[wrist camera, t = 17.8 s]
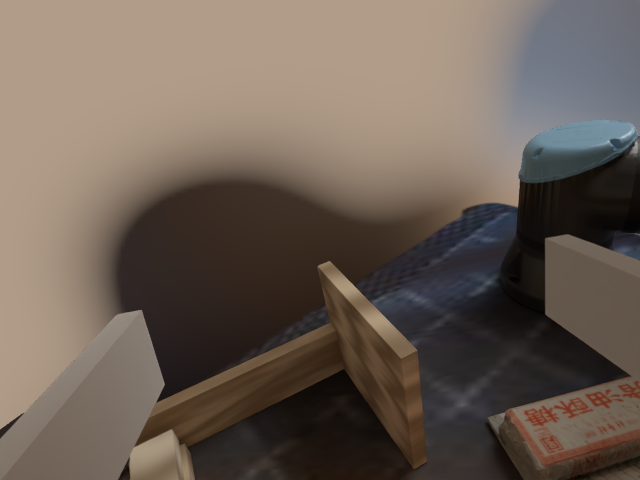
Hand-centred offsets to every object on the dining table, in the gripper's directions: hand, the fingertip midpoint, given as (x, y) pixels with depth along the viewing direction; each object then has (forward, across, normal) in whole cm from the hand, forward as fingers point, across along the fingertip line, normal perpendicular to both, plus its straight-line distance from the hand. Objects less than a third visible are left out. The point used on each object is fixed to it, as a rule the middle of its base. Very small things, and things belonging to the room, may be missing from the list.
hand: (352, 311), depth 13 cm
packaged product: (+19, +24, -29) cm, 42 cm away
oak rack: (+25, -9, -28) cm, 38 cm away
